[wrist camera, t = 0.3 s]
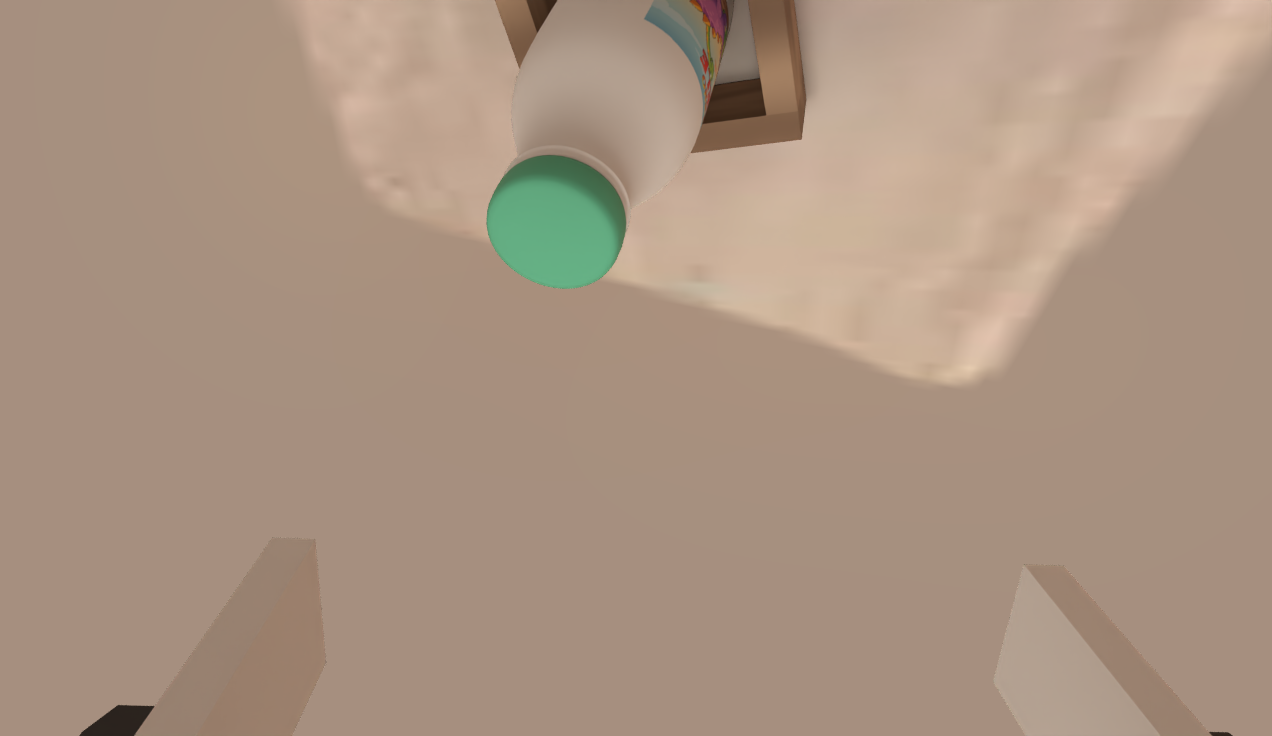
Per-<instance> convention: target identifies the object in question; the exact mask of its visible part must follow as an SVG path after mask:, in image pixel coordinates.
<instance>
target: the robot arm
mask: <svg viewBox="0 0 1272 736" xmlns="http://www.w3.org/2000/svg"><path fill="white" fill-rule="evenodd" d="M325 664H326V653H325V642H324V631H323V619H322V608H321V597H320V586H319V575H318V563H317V552H316V540H315V539H300V538H274V537H273V538H272V539H271V540H270V542H269V543H268V545H267V546H266V547H265V549H264V550H263V552H262V553H261V554H260V556H259V558H258V559H257V560H256V562H255V563H254V565H253V566H252V568H251V569H250V570H249V572H248V573H247V575H246V576H245V577H244V579H243V581H242V582H241V583H240V585H239V586H238V587H237V589H236V590H235V592H234V593H233V595H232V596H231V598H230V599H229V600H228V602H227V603H226V605H225V606H224V608H223V609H222V610H221V612H220V613H219V615H218V616H217V618H216V619H215V620H214V622H213V623H212V625H211V626H210V628H209V629H208V631H207V632H206V633H205V635H204V636H203V638H202V639H201V641H200V642H199V643H198V645H197V646H196V648H195V650H194V651H193V652H192V654H191V655H190V656H189V658H188V659H187V661H186V662H185V664H184V665H183V666H182V668H181V669H180V671H179V672H178V674H177V675H176V676H175V678H174V679H173V681H172V682H171V684H170V685H169V687H168V688H167V689H166V691H165V692H164V694H163V695H162V697H161V698H160V699H159V701H158V702H157V704H156V705H155V706H127V705H118V706H116V707H115V708H114V709H112V710H111V711H110V712H108V713H107V714H106V715H104V716H103V717H102V718H100V719H99V720H97V721H96V722H95V723H93V724H92V725H91V726H89V727H88V728H87V729H85V730H84V731H83V732H82V733H81V734H80V736H292V735H293V732H294V731H295V728H296V726H297V724H298V722H299V720H300V718H301V715H302V713H303V711H304V709H305V707H306V705H307V703H308V701H309V698H310V696H311V694H312V692H313V690H314V688H315V686H316V683H317V681H318V679H319V677H320V675H321V673H322V671H323V668H324V666H325ZM993 682H994V684H995V686H996V687H997V689H998V691H999V692H1000V694H1001V696H1002V697H1003V699H1004V700H1005V702H1006V704H1007V706H1008V707H1009V709H1010V710H1011V712H1012V714H1013V716H1014V717H1015V719H1016V721H1017V722H1018V724H1019V725H1020V727H1021V729H1022V730H1023V732H1024V734H1025V735H1026V736H1232V735H1231V734H1230V733H1227V732H1225V733H1224V732H1208V730H1206V728H1205V727H1204V726H1203V725H1202V724H1201V722H1200V721H1199V720H1198V719H1197V718H1196V717H1195V716H1194V714H1193V713H1192V712H1191V711H1190V710H1189V709H1188V708H1187V706H1186V705H1185V704H1184V703H1183V702H1182V701H1181V700H1180V699H1179V697H1178V696H1177V695H1176V694H1175V693H1174V692H1173V690H1172V689H1171V688H1170V687H1169V686H1168V685H1167V684H1166V682H1165V681H1164V680H1163V679H1162V678H1161V677H1160V676H1159V674H1158V673H1157V672H1156V671H1155V670H1154V669H1153V668H1152V666H1151V665H1150V664H1149V663H1148V662H1147V661H1146V660H1145V659H1144V657H1143V656H1142V655H1141V654H1140V653H1139V652H1138V651H1137V649H1136V648H1135V647H1134V646H1133V645H1132V644H1131V642H1130V641H1129V640H1128V639H1127V638H1126V637H1125V636H1124V634H1123V633H1122V632H1121V631H1120V630H1119V629H1118V628H1117V626H1116V625H1115V624H1114V623H1113V622H1112V621H1111V620H1110V619H1109V617H1108V616H1107V615H1106V614H1105V613H1104V612H1103V610H1101V608H1100V607H1099V606H1098V605H1097V604H1096V602H1095V601H1094V600H1093V599H1092V598H1091V597H1090V596H1089V594H1088V593H1087V592H1086V591H1085V590H1084V589H1083V587H1082V586H1081V585H1080V584H1079V583H1078V582H1077V581H1076V579H1075V578H1074V577H1073V576H1072V575H1071V574H1070V573H1069V571H1068V570H1067V569H1066V568H1065V567H1064V566H1060V565H1058V566H1057V565H1032V564H1024V565H1023V569H1022V573H1021V577H1020V581H1019V584H1018V588H1017V592H1016V596H1015V600H1014V603H1013V607H1012V611H1011V615H1010V619H1009V623H1008V627H1007V630H1006V634H1005V638H1004V642H1003V646H1002V650H1001V653H1000V657H999V661H998V665H997V669H996V673H995V677H994V680H993Z"/></svg>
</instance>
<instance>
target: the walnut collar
mask: <svg viewBox="0 0 1272 736" xmlns="http://www.w3.org/2000/svg"><path fill="white" fill-rule="evenodd" d="M495 2H496V5H497V7H498V10H499V13H500V16H501V19H502V21H503V24H504V27H505V30H506V32H507V35H508V38H509V41H510V44H511V46H512V49H513V52H514V55H515V58H516V60H517V63H518V66H519V69H520V67H521V64H522V62H523V60H524V58H525V56H526V54H527V52H528V50H529V48H530V46H531V44H532V42H533V40H534V39H535V37H536V35H537V33H538V31H539V30H540V28H541V26H542V25H543V23H544V21H545V20H546V18H547V17H548V15H549V13H550V12H551V10H552V8H553V7H554V5H555V3H556V2H557V0H495ZM748 4H749V10H750V16H751V23H752V29H753V35H754V41H755V48H756V54H757V60H758V66H759V73H760V79H754V80H747V81H740V82H734V83H727V84H720V85H714V87H713V90H712V94H711V97H710V101H709V104H708V107H707V111H706V114H705V117H704V120H703V123H702V126H701V128H700V131H699V134H698V137H697V139H696V142H695V144H694V147H693V149H692V151H691V153H696V152H704V151H712V150H720V149H728V148H736V147H744V146H752V145H761V144H769V143H777V142H785V141H793V140H801V139H802V132H803V123H804V115H805V106H806V93H805V85H804V77H803V69H802V61H801V53H800V45H799V37H798V28H797V20H796V12H795V4H794V0H748Z"/></svg>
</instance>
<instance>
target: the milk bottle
mask: <svg viewBox="0 0 1272 736" xmlns="http://www.w3.org/2000/svg"><path fill="white" fill-rule="evenodd" d="M733 7H734V0H557V2H556V3H555V5H554V7H553V8H552V10H551V12H550V13H549V15H548V17H547V18H546V20H545V21H544V23H543V25H542V26H541V28H540V30H539V31H538V33H537V35H536V37H535V39H534V40H533V42H532V44H531V46H530V48H529V50H528V52H527V54H526V56H525V58H524V60H523V62H522V64H521V67H520V70H519V73H518V76H517V79H516V82H515V86H514V92H513V98H512V108H511V122H512V131H513V137H514V142H515V147H516V151H517V155H518V157H517V158H515V159H514V160H513V161H512V162H511V164H510V165H509V166H508V168H507V170H506V172H505V174H504V177H503V178H502V180H501V181H500V183H499V184H498V186H497V188H496V189H495V191H494V194H493V196H492V198H491V200H490V203H489V206H488V211H487V230H488V235H489V238H490V241H491V243H492V245H493V247H494V249H495V250H496V252H497V253H498V254H499V256H500V257H501V258H502V260H503V261H504V262H505V263H506V264H507V265H508V266H509V267H510V268H512V269H513V270H514V271H516V272H517V273H518V274H520V275H521V276H523V277H525V278H527V279H529V280H531V281H533V282H536V283H538V284H541V285H544V286H548V287H553V288H562V289H569V288H578V287H583V286H586V285H589V284H591V283H593V282H595V281H597V280H599V279H600V278H601V277H603V276H604V275H605V274H606V273H607V272H608V271H609V269H610V268H611V267H612V266H613V264H614V263H615V261H616V259H617V257H618V254H619V252H620V250H621V247H622V244H623V240H624V237H625V233H626V231H627V229H628V226H629V223H630V217H631V209H633V208H635V207H637V206H638V205H640V204H642V203H644V202H646V201H647V200H649V199H650V198H652V197H653V196H655V195H656V194H657V193H659V192H660V191H661V190H662V189H663V188H664V187H665V186H667V185H668V184H669V183H670V181H671V180H672V179H673V178H674V177H675V176H676V174H677V173H678V172H679V171H680V169H681V168H682V167H683V165H684V163H685V162H686V160H687V158H688V156H689V154H690V153H691V151H692V149H693V147H694V144H695V142H696V139H697V137H698V134H699V131H700V128H701V126H702V123H703V120H704V117H705V114H706V111H707V107H708V104H709V101H710V97H711V94H712V90H713V87H714V84H715V80H716V77H717V73H718V70H719V66H720V63H721V59H722V55H723V52H724V48H725V45H726V41H727V37H728V33H729V30H730V25H731V20H732V15H733Z"/></svg>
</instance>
